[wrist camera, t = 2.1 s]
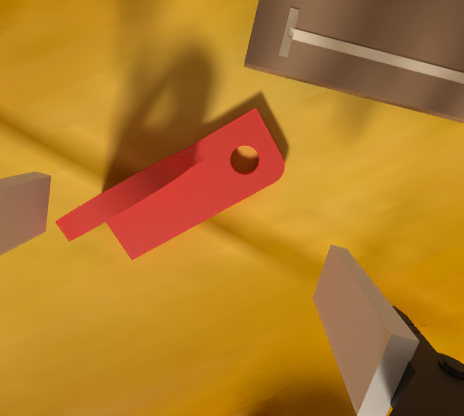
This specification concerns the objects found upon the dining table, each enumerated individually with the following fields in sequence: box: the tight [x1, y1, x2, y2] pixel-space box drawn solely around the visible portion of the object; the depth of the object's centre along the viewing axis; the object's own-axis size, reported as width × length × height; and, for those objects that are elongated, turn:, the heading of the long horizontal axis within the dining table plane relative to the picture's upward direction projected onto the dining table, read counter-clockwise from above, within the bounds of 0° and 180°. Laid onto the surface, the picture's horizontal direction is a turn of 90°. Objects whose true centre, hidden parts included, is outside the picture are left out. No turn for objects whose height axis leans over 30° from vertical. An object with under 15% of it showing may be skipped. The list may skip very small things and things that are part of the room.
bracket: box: [56, 108, 285, 260], centre depth 18 cm, size 12×4×8 cm, turn 120°
